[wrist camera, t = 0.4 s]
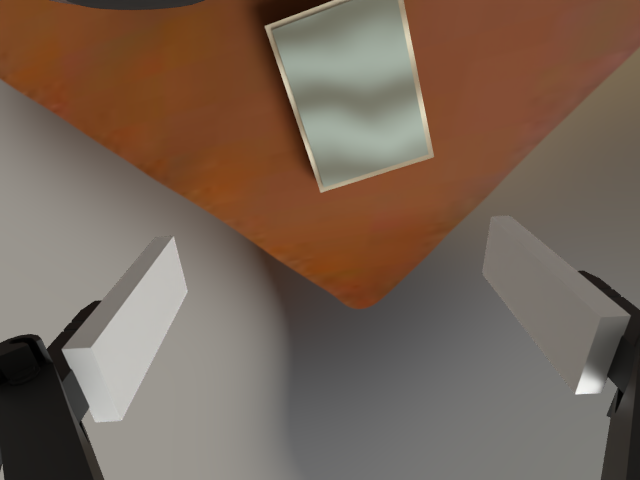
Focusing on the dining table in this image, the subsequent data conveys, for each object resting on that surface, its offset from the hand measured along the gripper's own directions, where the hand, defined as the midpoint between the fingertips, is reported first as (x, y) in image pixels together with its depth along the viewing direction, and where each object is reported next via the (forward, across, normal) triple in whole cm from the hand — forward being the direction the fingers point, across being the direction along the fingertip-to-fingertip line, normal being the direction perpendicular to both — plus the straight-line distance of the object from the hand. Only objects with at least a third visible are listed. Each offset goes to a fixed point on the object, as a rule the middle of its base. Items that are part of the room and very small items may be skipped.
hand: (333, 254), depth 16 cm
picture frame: (+27, +4, +4) cm, 28 cm away
